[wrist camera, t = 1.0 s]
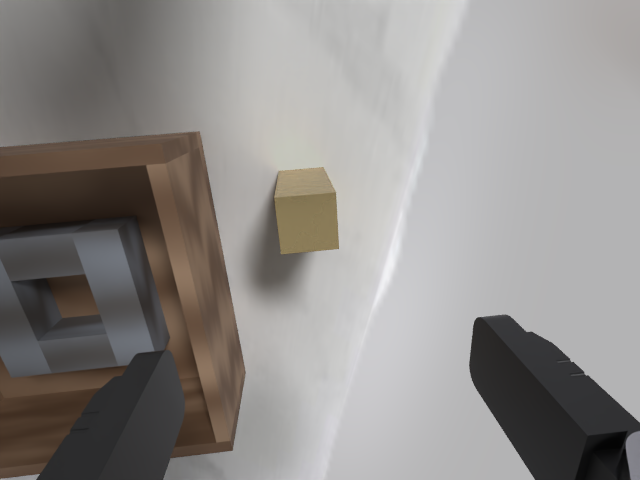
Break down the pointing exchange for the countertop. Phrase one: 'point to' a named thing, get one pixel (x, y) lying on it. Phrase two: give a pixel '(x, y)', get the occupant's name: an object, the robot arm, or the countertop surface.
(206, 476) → the countertop surface
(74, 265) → the walled box
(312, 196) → the tan wooden block
